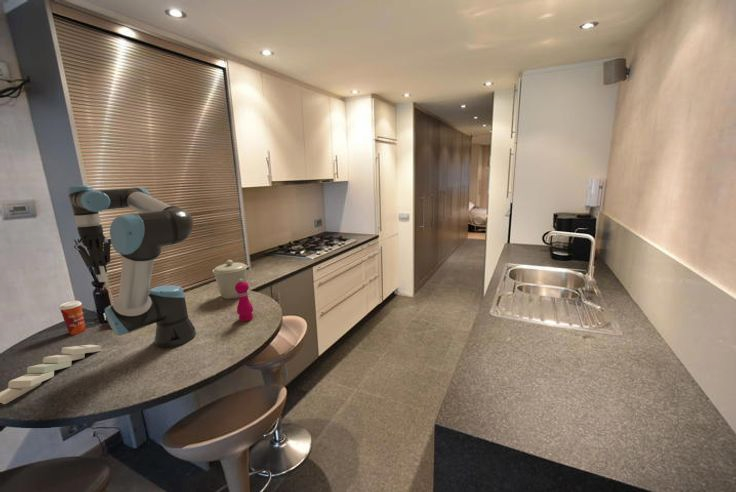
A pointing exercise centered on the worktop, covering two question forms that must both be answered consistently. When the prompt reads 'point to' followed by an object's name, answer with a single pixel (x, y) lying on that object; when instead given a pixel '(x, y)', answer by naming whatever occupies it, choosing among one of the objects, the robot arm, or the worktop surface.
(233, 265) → the canister
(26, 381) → the domino
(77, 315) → the paper cup
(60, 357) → the domino
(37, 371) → the domino
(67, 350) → the domino
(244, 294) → the pepper mill
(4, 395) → the domino
